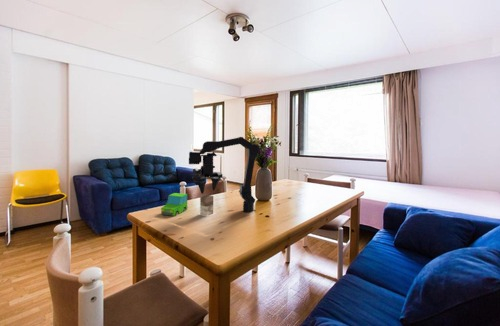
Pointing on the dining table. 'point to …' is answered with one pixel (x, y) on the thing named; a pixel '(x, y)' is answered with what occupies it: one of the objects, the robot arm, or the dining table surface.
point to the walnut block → (206, 200)
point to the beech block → (206, 210)
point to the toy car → (175, 204)
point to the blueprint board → (205, 215)
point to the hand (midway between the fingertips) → (208, 192)
